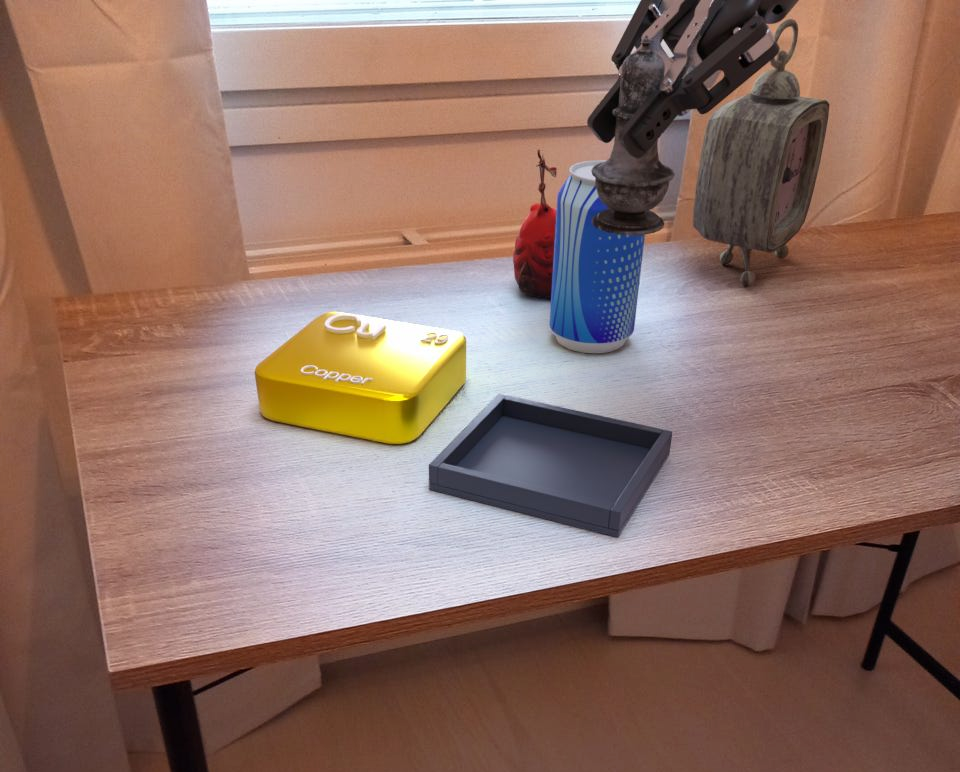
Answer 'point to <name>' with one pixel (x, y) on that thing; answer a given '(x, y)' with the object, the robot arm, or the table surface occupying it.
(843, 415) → the table surface
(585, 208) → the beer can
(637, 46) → the robot arm
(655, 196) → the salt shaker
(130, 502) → the table surface
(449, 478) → the tray
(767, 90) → the tabletop clock
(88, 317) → the table surface
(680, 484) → the table surface
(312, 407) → the element tile
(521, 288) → the red rounded tall piece
